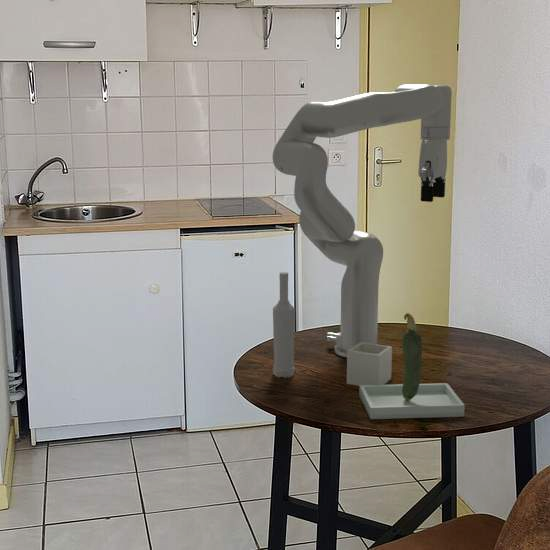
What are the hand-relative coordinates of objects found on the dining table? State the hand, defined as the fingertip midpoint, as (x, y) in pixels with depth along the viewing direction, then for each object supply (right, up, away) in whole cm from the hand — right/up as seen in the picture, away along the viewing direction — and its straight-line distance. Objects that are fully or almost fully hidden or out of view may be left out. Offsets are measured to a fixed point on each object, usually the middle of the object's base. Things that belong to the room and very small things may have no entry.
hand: (432, 199), depth 240 cm
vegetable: (-12, -48, -42) cm, 65 cm away
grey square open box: (-20, -45, -26) cm, 55 cm away
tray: (-12, -48, -42) cm, 65 cm away
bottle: (-40, -44, -21) cm, 63 cm away
